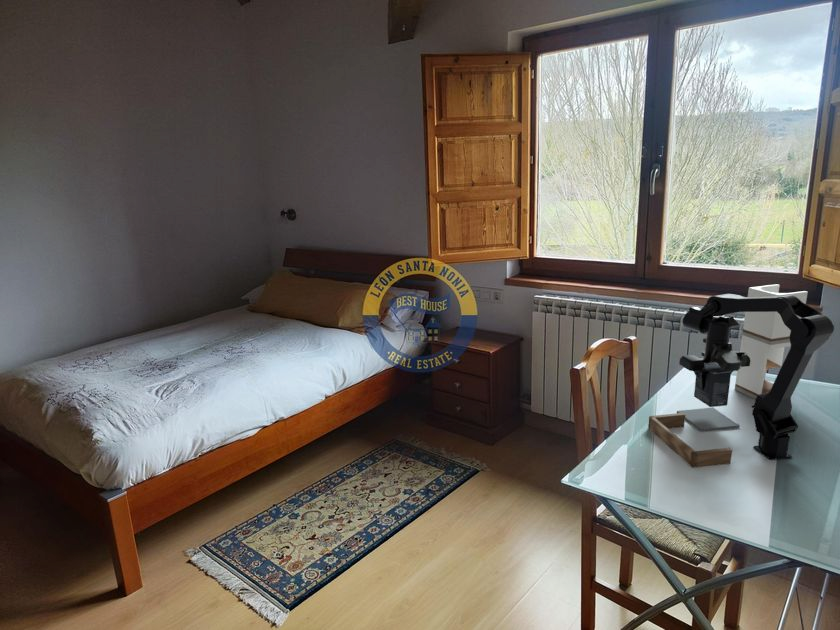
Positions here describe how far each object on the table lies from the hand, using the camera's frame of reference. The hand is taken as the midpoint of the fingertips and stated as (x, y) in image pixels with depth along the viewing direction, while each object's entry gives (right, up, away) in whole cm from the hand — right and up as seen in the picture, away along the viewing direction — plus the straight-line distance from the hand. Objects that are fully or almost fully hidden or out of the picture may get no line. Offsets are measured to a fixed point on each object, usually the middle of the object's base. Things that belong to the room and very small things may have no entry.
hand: (711, 388), depth 163 cm
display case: (+27, -4, +20) cm, 34 cm away
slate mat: (0, -10, +3) cm, 10 cm away
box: (0, -4, +1) cm, 4 cm away
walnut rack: (-12, -14, -10) cm, 21 cm away
